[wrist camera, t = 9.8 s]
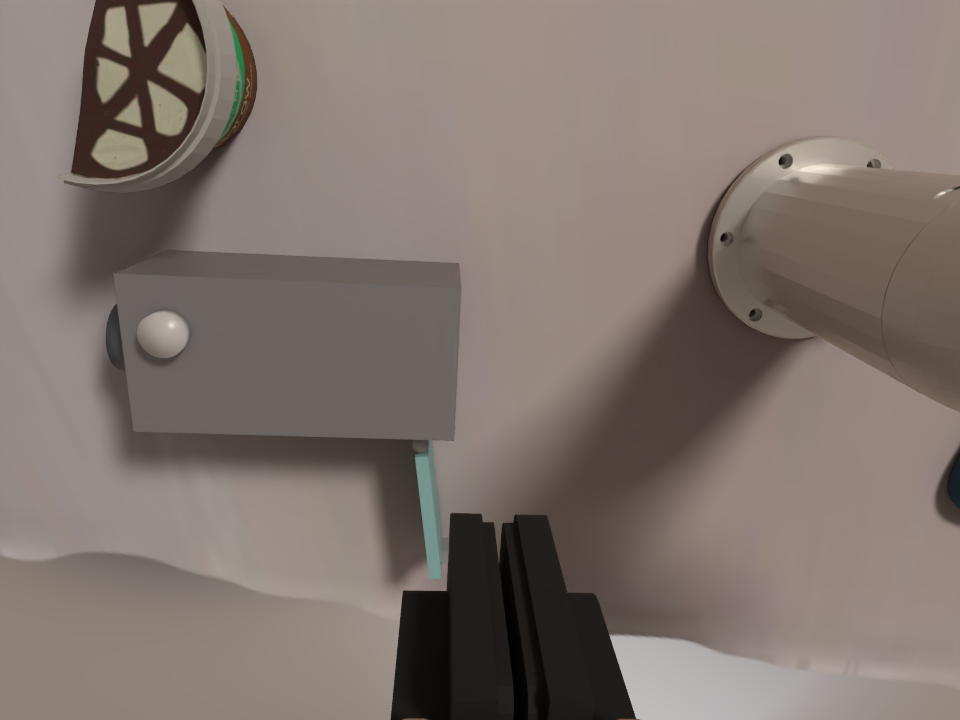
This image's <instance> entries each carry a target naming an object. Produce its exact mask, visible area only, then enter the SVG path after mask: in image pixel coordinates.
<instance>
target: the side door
mask: <svg viewBox="0 0 960 720" xmlns="http://www.w3.org/2000/svg"><path fill="white" fill-rule="evenodd" d="M412 448H413V450H414V451H416V452H415V462H416V471H417V479H418V487H419V496H420V504H421V513H422V521H423V529H424V538H425V546H426V555H427V563H428V572H429V580H430V579H441V578H442V562H448V554H449V538H442V531H441V522H440V513H439V504H438V494H437V485H436V476H435V467H434V457H433V448H432V440H412Z"/></svg>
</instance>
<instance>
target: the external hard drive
mask: <svg viewBox="0 0 960 720" xmlns="http://www.w3.org/2000/svg"><path fill="white" fill-rule="evenodd" d="M948 484H949V494H950V496H951V499H952V500H953V502H954V503H955V504H956V505H957V506H958V507H959V508H960V454H959V456H958V458H957V460H956V462H955V463H954V466H953V468H952V471H951V473H950V478H949V483H948Z"/></svg>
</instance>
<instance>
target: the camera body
mask: <svg viewBox="0 0 960 720" xmlns="http://www.w3.org/2000/svg"><path fill="white" fill-rule="evenodd" d="M113 277H114V284H115V292H116V300H117V304H116V305H115V306H114V308H113V309H112V311H111V313H110V315H109V318H108V322H107V328H106V346H107V352H108V355H109V358H110V360H111V362H112V364H113V365H114V366H115V367H116V368H117V369H120V370H126V378H127V386H128V394H129V402H130V410H131V417H132V425H133V432H160V433H196V434H231V435H267V436H302V437H338V438H374V439H409V440H445V441H454V433H455V411H456V389H457V368H458V346H459V324H460V302H461V281H460V270H459V263H439V262H417V261H395V260H373V259H350V258H328V257H306V256H284V255H261V254H239V253H217V252H195V251H172V250H167V251H164V252H162V253H160V254H157V255H155V256H153V257H150V258H148V259H146V260H143V261H141V262H139V263H136V264H134V265H132V266H129V267H127V268H125V269H122V270H120V271H118V272H115V273H113Z"/></svg>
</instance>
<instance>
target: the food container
mask: <svg viewBox="0 0 960 720" xmlns="http://www.w3.org/2000/svg"><path fill="white" fill-rule="evenodd" d="M256 91H257V71H256V65H255V60H254V56H253V53H252V50H251V47H250V44H249V42H248V40H247V38H246V36H245V34H244V32H243V30H242V29H241V27H240V26H239V24H238V23H237V21H236V20H235V18H234V17H233V16H232V15H231V14H230V13H229V11H228V10H227V9H226V8H225V7H224V6H223V5H222V3H221V1H220V0H96V2H95V7H94V11H93V16H92V20H91V24H90V28H89V33H88V38H87V43H86V48H85V56H84V67H83V83H82V96H81V107H80V116H79V123H78V130H77V137H76V144H75V151H74V158H73V165H72V171H71V172H70V173H67V174H64V175H61V176H57V179H61V180H64V183H66V184H70V185H75V186H79V187H83V188H87V189H92V190H96V191H103V192H115V193H126V192H140V191H145V190H149V189H153V188H158V187H161V186H163V185H165V184H168V183H170V182H172V181H175V180H177V179H179V178H180V177H182V176H183V175H185V174H186V173H188V172H189V171H191V170H192V169H194V168H195V167H196V166H197V165H198V164H199V163H200V162H201V161H202V160H203V159H204V158H205V157H206V156H207V155H208V154H209V153H210V151H211V150H214V149H216V148H219V147H221V146H224V145H225V144H226V143H227V142H228V141H229V140H230V139H231V138H233V137H234V136H235V135H236V134H237V133H238V132H239V131H240V130H242V128H243V126H244V124H245V123H246V121H247V119H248V117H249V116H250V114H251V112H252V109H253V105H254V102H255V98H256Z"/></svg>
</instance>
